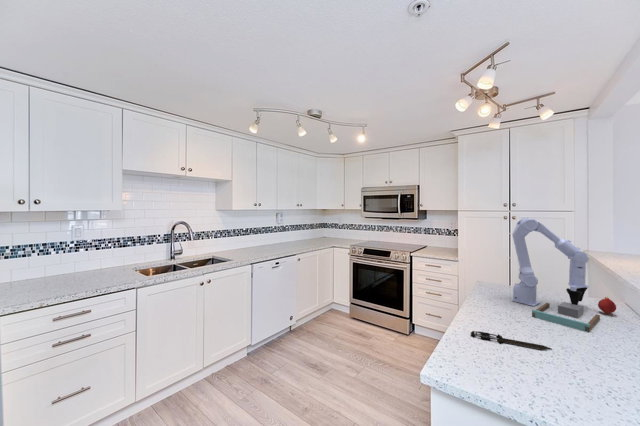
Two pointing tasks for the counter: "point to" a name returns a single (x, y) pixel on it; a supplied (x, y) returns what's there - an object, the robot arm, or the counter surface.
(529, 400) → the counter surface
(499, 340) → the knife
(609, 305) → the red rounded lump
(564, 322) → the bay
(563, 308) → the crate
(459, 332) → the counter surface
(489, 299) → the counter surface
